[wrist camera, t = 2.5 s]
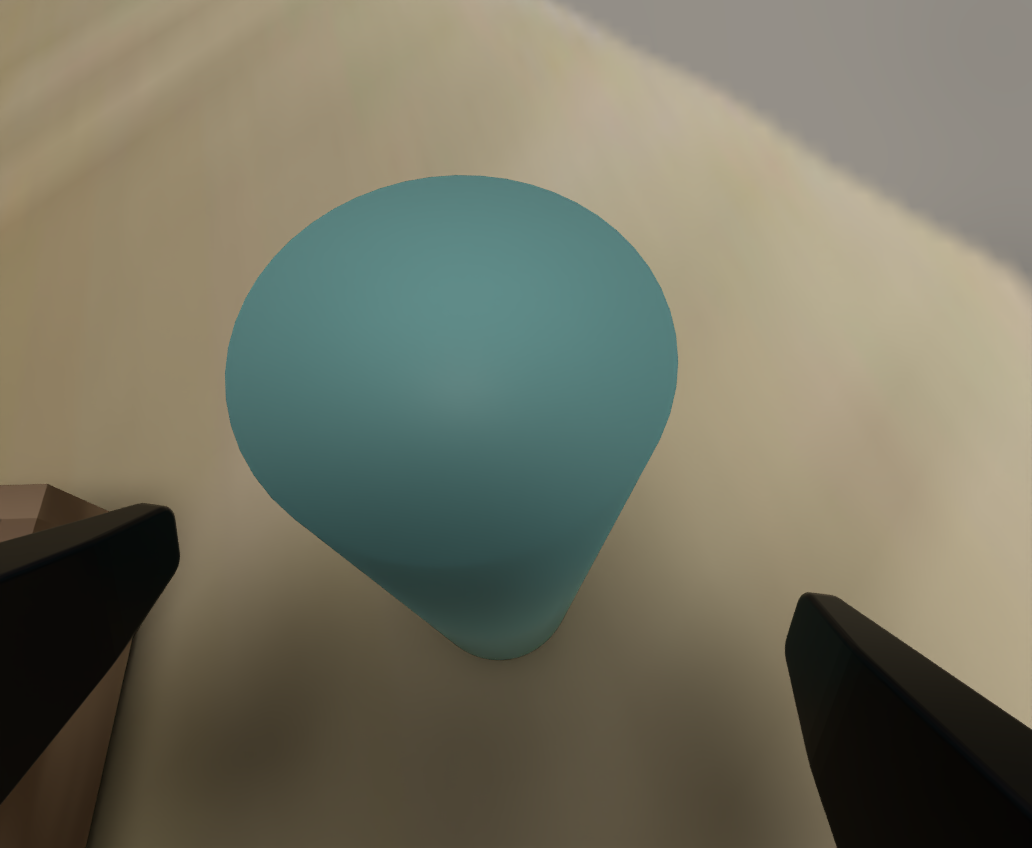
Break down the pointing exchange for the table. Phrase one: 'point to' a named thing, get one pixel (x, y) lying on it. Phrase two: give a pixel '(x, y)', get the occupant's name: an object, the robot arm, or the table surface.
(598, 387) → the peg
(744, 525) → the table surface
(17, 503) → the tray
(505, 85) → the table surface
